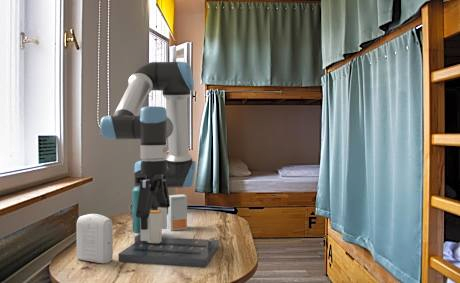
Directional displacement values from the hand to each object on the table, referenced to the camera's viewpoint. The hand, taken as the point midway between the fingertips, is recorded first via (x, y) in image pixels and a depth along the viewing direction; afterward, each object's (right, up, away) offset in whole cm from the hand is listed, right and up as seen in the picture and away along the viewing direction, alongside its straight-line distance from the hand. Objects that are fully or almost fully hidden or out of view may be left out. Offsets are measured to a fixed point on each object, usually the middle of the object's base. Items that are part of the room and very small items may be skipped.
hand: (154, 234), depth 99 cm
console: (+6, -5, -3) cm, 8 cm away
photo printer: (-15, -5, -7) cm, 17 cm away
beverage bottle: (-7, -5, +15) cm, 17 cm away
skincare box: (+3, -4, +23) cm, 24 cm away
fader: (0, -2, 0) cm, 2 cm away
